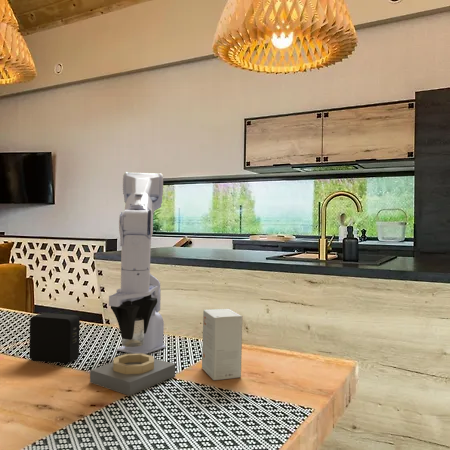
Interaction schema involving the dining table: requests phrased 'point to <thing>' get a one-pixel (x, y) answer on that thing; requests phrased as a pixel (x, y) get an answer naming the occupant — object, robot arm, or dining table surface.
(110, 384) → the grey square plate
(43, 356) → the electronic device
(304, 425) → the dining table surface
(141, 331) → the shiny metal cylinder
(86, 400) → the dining table surface
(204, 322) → the small box
